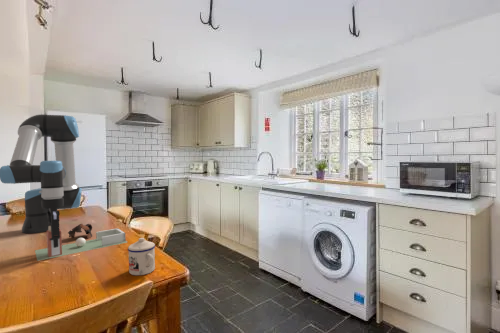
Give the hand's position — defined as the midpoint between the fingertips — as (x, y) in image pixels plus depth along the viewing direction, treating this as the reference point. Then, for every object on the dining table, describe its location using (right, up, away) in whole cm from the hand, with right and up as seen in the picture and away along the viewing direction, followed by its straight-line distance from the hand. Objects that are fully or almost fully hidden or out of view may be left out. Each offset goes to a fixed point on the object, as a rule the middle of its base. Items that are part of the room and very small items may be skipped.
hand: (54, 252), depth 114 cm
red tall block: (0, -1, 0) cm, 1 cm away
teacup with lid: (+44, -2, -17) cm, 47 cm away
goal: (+14, 0, +18) cm, 23 cm away
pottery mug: (-3, -1, +24) cm, 24 cm away
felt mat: (+6, -1, +10) cm, 12 cm away
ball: (+5, +1, +9) cm, 11 cm away
